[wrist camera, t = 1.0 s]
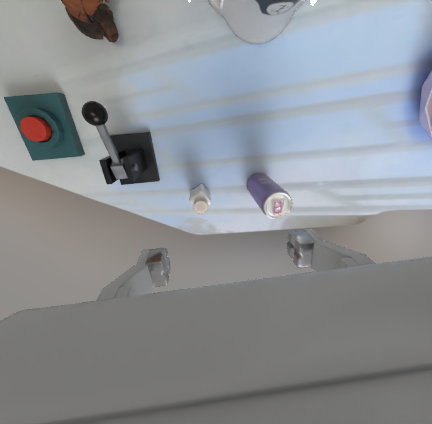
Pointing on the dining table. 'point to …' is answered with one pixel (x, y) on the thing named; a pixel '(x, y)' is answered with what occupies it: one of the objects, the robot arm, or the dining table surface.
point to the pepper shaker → (200, 199)
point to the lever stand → (133, 159)
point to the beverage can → (269, 196)
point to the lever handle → (104, 135)
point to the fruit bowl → (426, 106)
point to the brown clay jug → (103, 18)
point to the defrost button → (35, 128)
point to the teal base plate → (58, 121)
